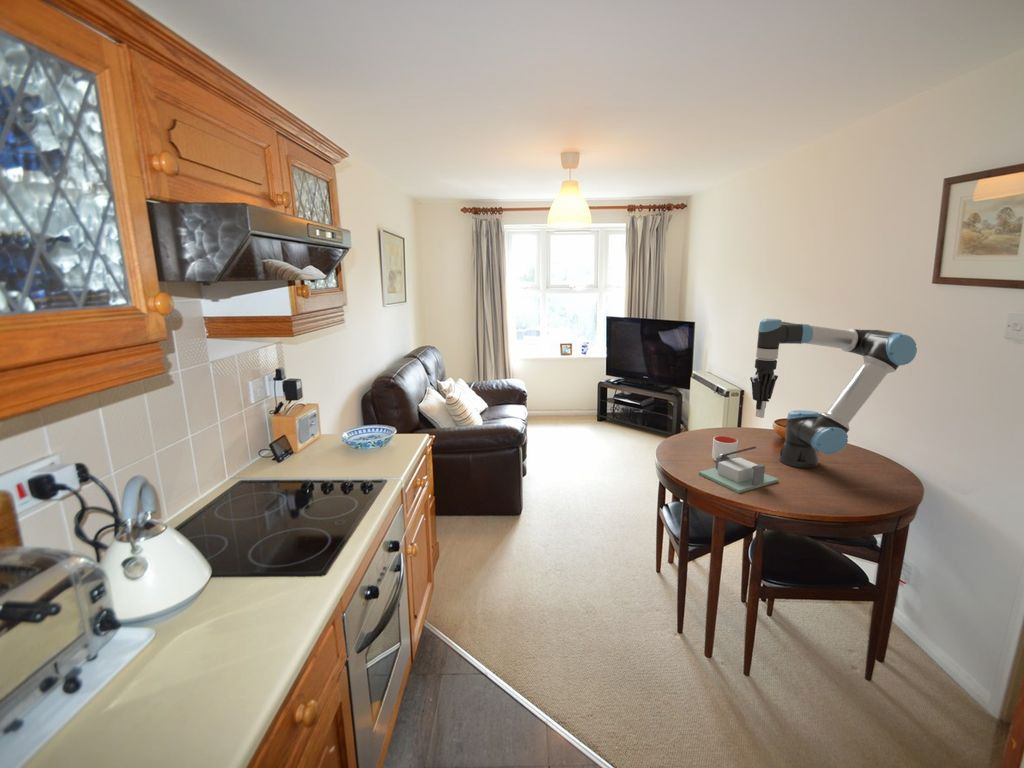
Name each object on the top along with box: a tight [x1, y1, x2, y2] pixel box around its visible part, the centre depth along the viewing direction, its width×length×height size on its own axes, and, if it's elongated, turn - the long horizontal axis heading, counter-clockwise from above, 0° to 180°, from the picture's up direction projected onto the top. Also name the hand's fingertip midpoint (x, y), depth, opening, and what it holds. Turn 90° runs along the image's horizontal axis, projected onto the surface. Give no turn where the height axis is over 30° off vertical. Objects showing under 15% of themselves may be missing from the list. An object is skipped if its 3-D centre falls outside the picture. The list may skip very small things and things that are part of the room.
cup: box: [711, 435, 739, 462], centre depth 215 cm, size 10×10×10 cm
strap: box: [718, 446, 757, 458], centre depth 197 cm, size 4×17×1 cm, turn 25°
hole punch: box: [698, 456, 779, 494], centre depth 197 cm, size 22×20×9 cm
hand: (759, 416), depth 194 cm, fingers closed
